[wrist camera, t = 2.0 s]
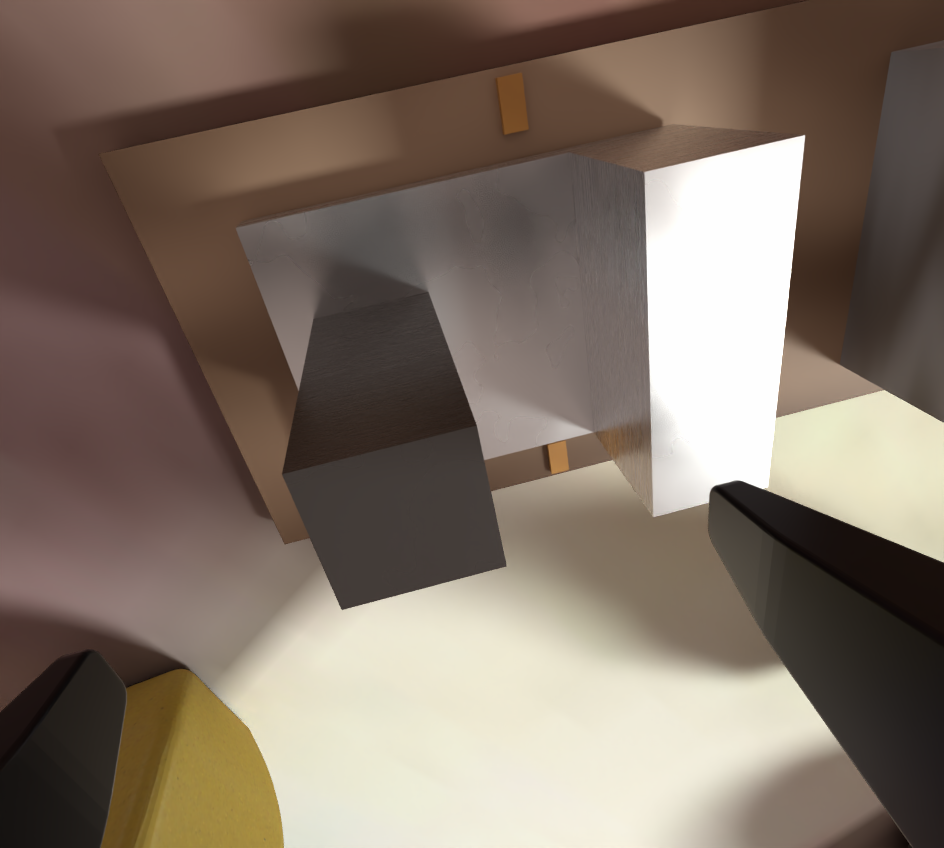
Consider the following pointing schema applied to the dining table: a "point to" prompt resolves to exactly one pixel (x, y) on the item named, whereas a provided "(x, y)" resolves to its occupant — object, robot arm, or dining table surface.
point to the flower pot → (189, 773)
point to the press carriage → (527, 338)
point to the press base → (575, 123)
